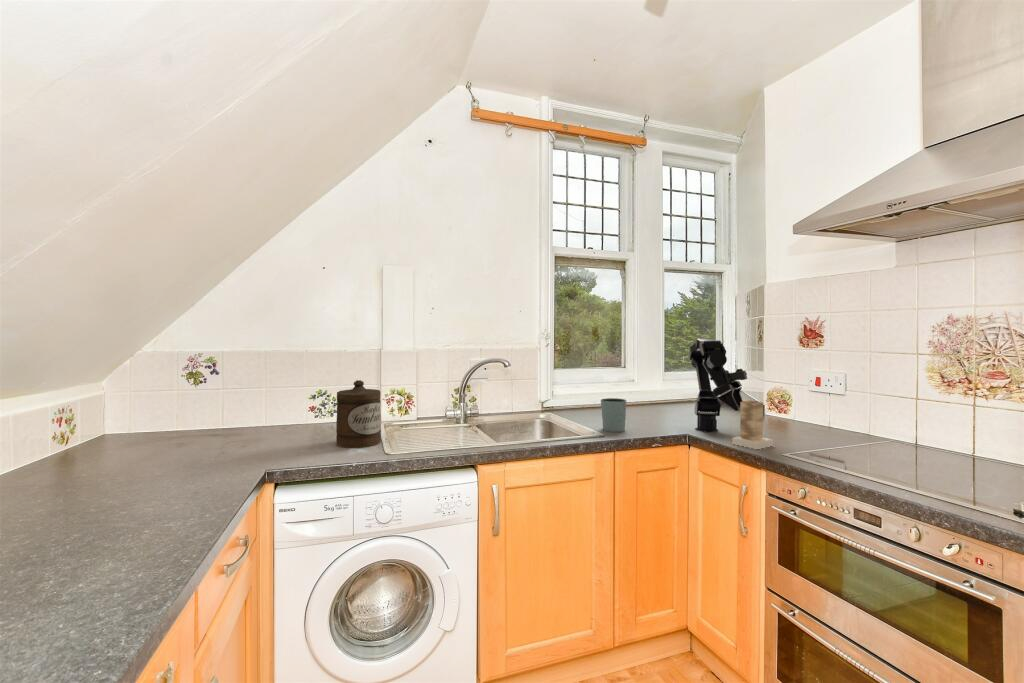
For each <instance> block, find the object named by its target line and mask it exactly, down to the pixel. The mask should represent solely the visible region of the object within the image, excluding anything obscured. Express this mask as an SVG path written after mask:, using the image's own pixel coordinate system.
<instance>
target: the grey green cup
mask: <svg viewBox="0 0 1024 683" xmlns="http://www.w3.org/2000/svg"><path fill="white" fill-rule="evenodd" d="M600 405H601V406H600V407H601V419H602V430H603V431H606V432H612V433H614V432H615V433H621V431H622V432H624V431H626V413H627V412H626V410H627V399H625V398H617V397H616V398H614V397H612V398H611V397H609V398H608V397H607V398H601V399H600Z"/></svg>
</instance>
